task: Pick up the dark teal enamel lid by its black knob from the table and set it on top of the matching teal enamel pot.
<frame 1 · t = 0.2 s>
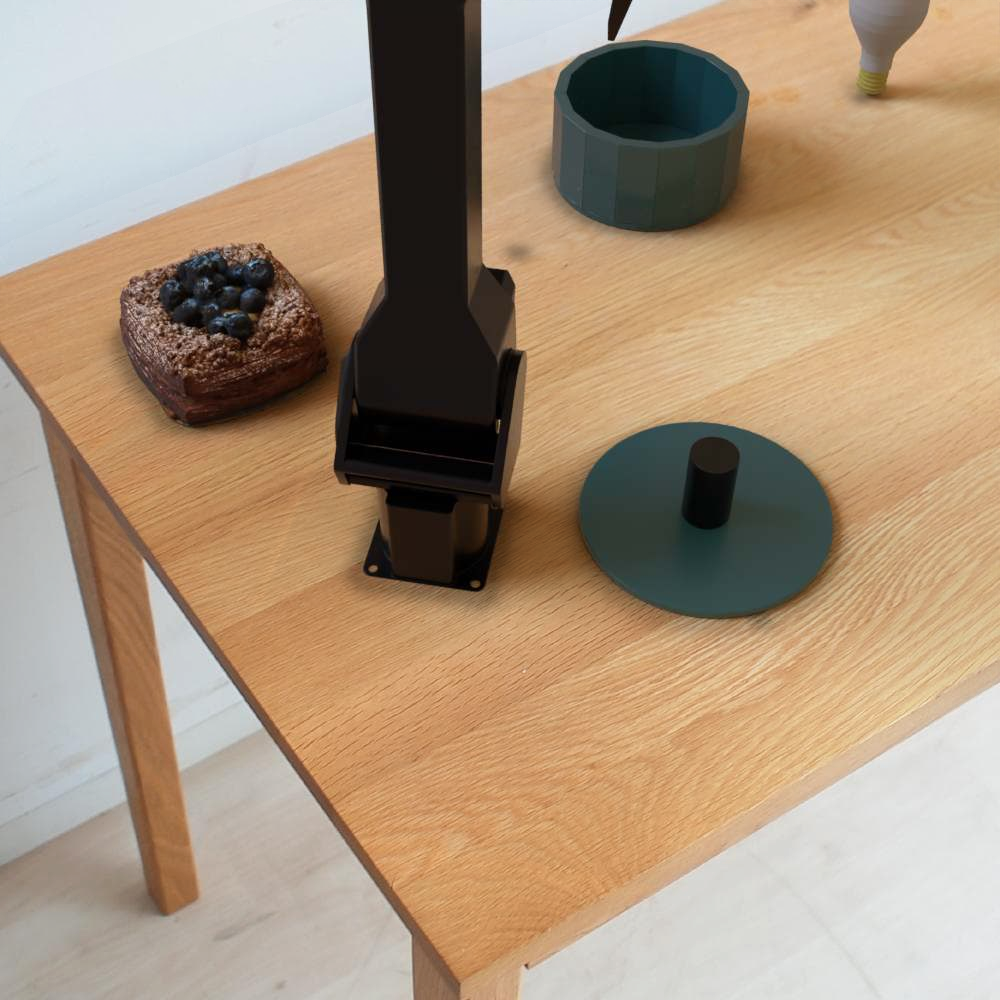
hand: (534, 29, 85), 14 cm above the table, tool pointing down, fingers open, 9 cm apart
pastry: (226, 352, 88), on the table
pot: (644, 174, 99), on the table
light bulb: (868, 95, 106), on the table
lid: (704, 517, 78), point 1 cm above the table
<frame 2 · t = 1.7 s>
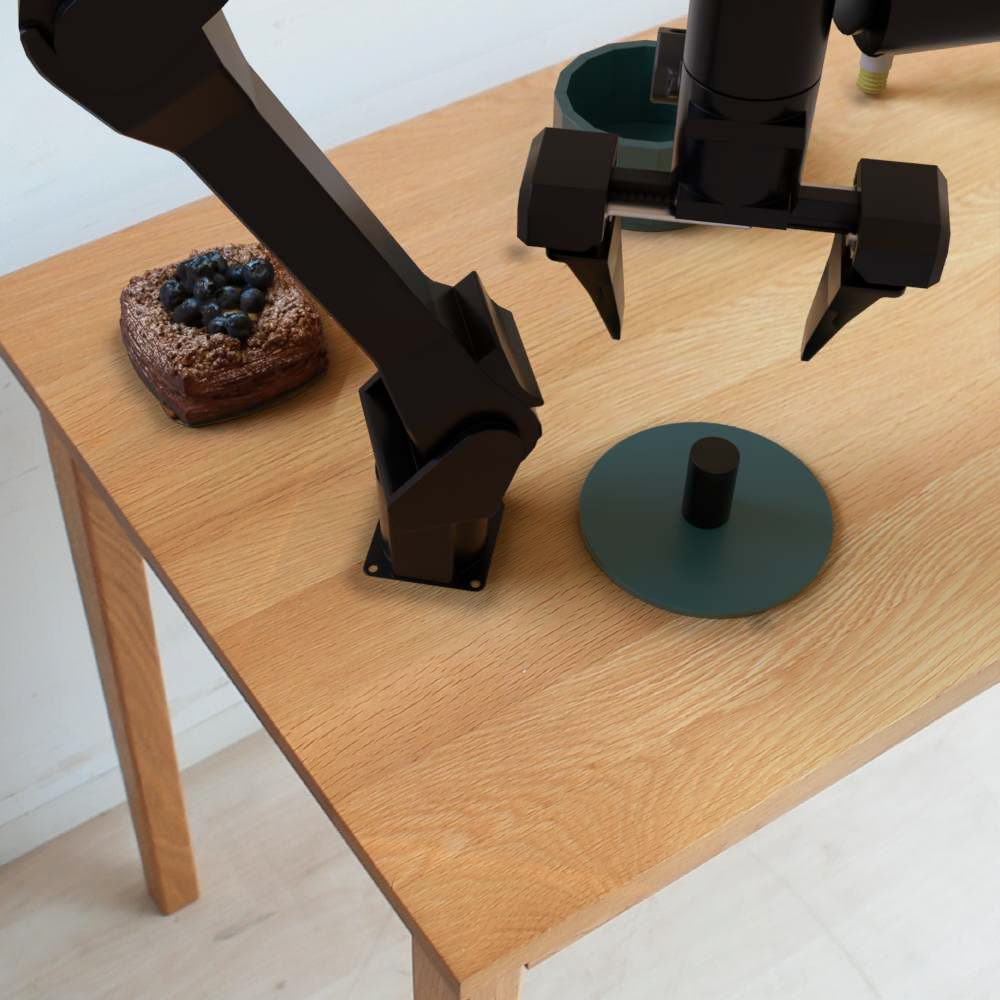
hand: (710, 344, 71), 11 cm above the table, tool pointing down, fingers open, 9 cm apart
nothing on the table moved.
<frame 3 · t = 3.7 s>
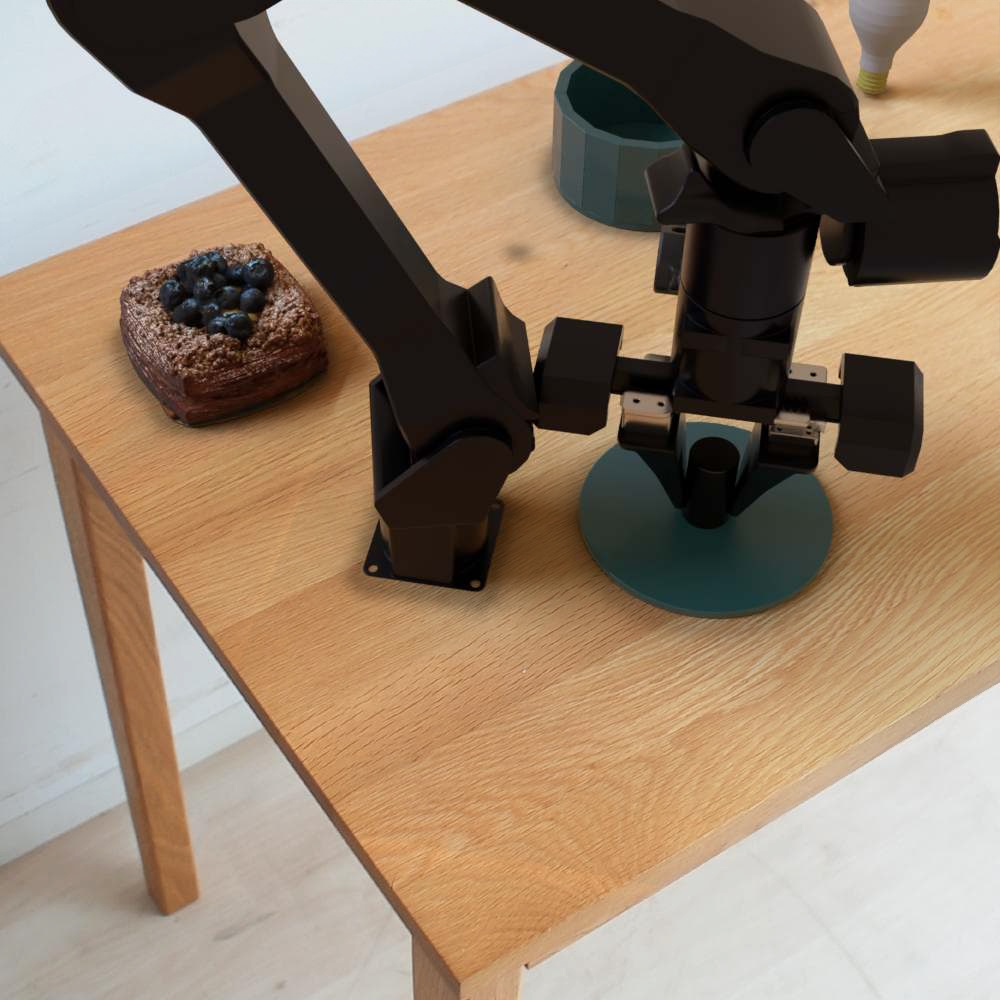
hand: (706, 506, 77), 2 cm above the table, tool pointing down, fingers closed on lid, 2 cm apart
lid: (704, 517, 78), point 1 cm above the table, touching gripper
everything else where it was.
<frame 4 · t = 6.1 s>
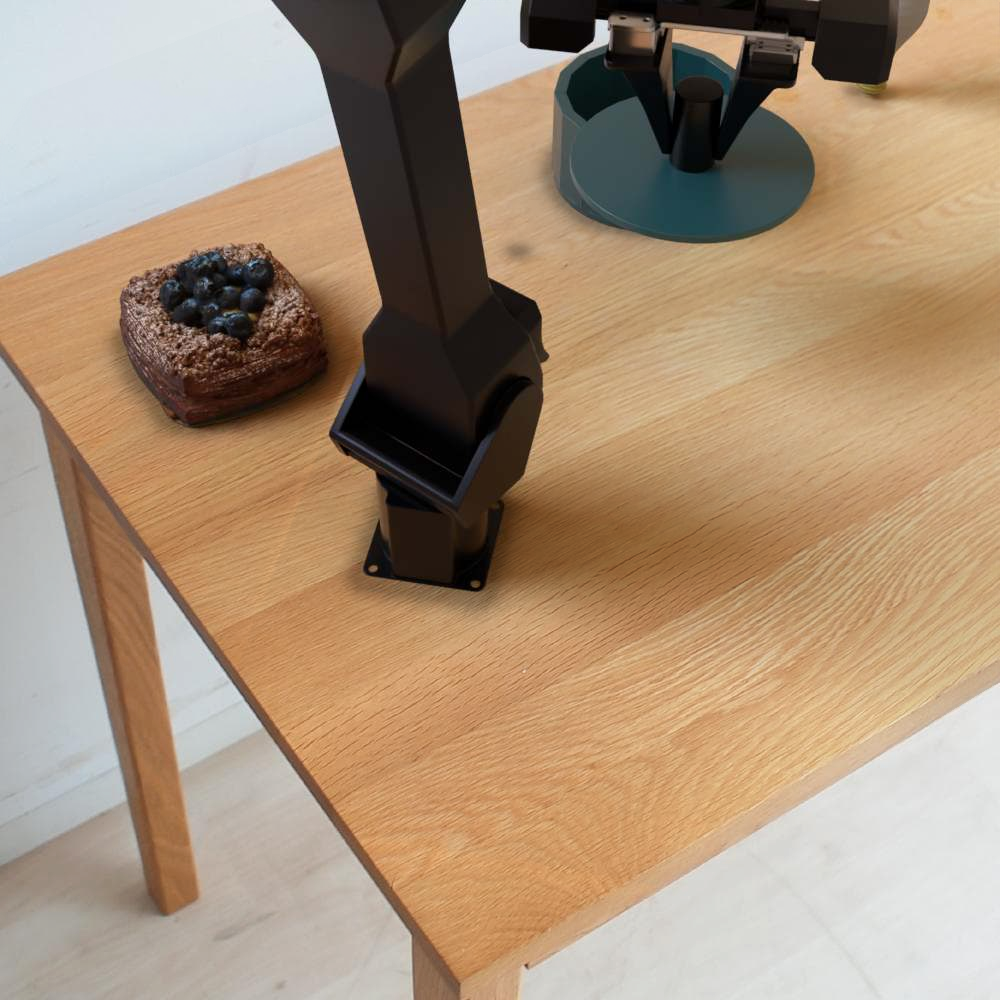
hand: (693, 153, 80), 12 cm above the table, tool pointing down, fingers closed on lid, 2 cm apart
lid: (691, 166, 81), point 11 cm above the table, touching gripper
everything else where it was.
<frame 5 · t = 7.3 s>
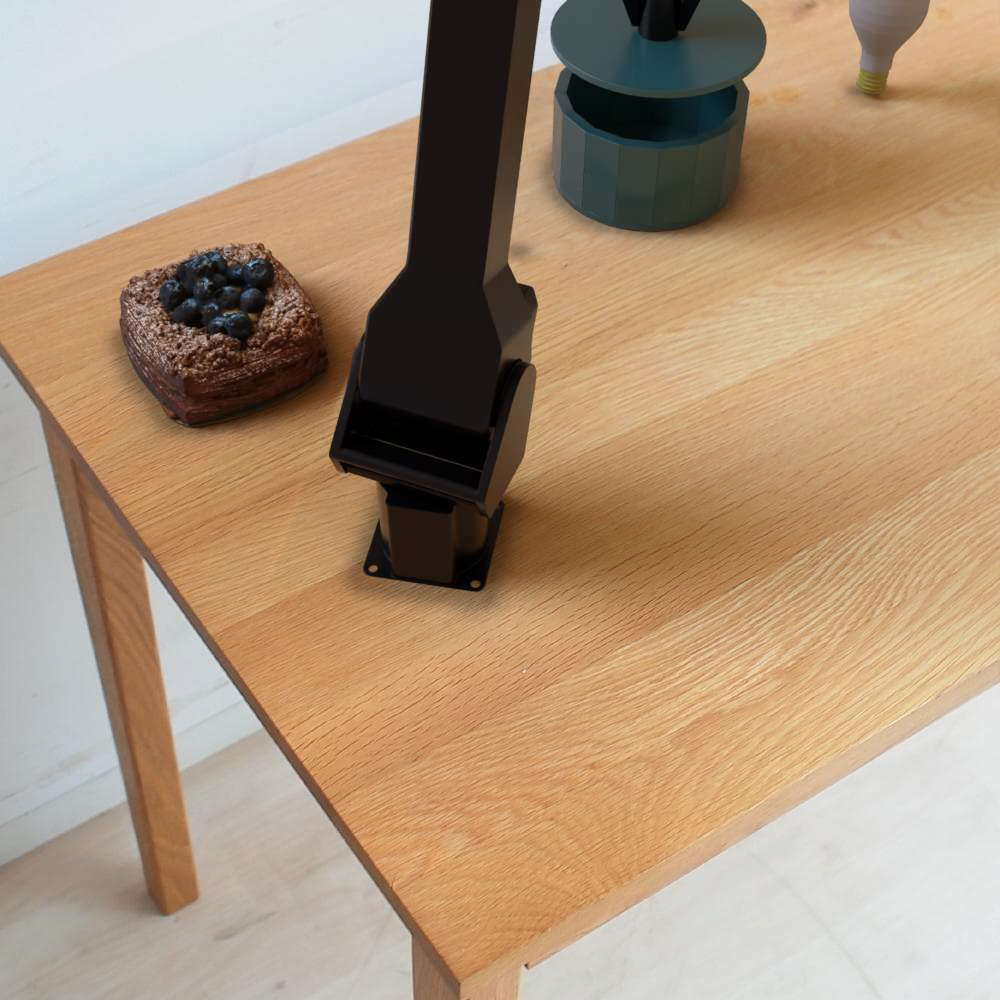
hand: (659, 25, 91), 11 cm above the table, tool pointing down, fingers closed on lid, 2 cm apart
lid: (657, 37, 91), point 11 cm above the table, touching gripper
everything else where it was.
when the fingers open (7 cm above the table, at t = 8.5 s): lid stays where it is, resting on pot.
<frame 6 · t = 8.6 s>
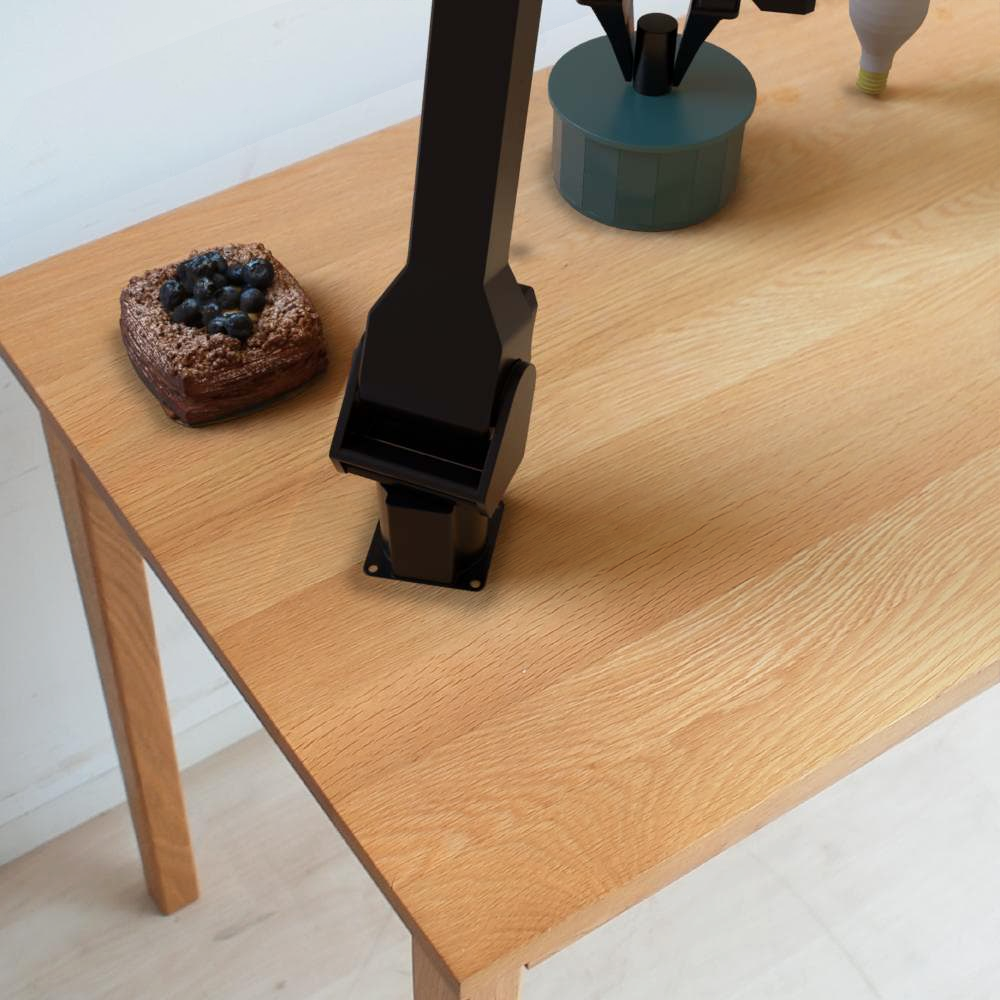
hand: (652, 80, 94), 7 cm above the table, tool pointing down, fingers open, 3 cm apart
lid: (651, 92, 94), point 6 cm above the table, touching pot
everything else where it was.
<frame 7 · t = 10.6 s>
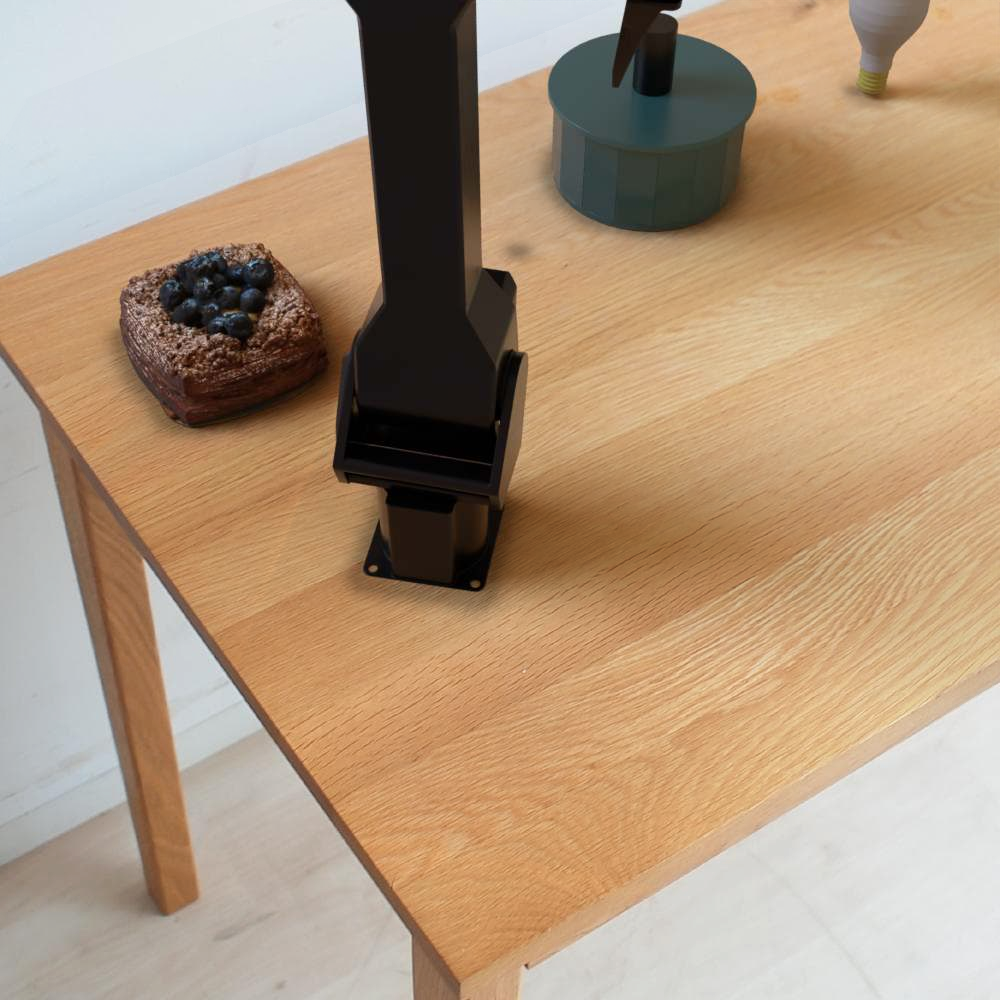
hand: (538, 75, 85), 13 cm above the table, tool pointing down, fingers open, 9 cm apart
nothing on the table moved.
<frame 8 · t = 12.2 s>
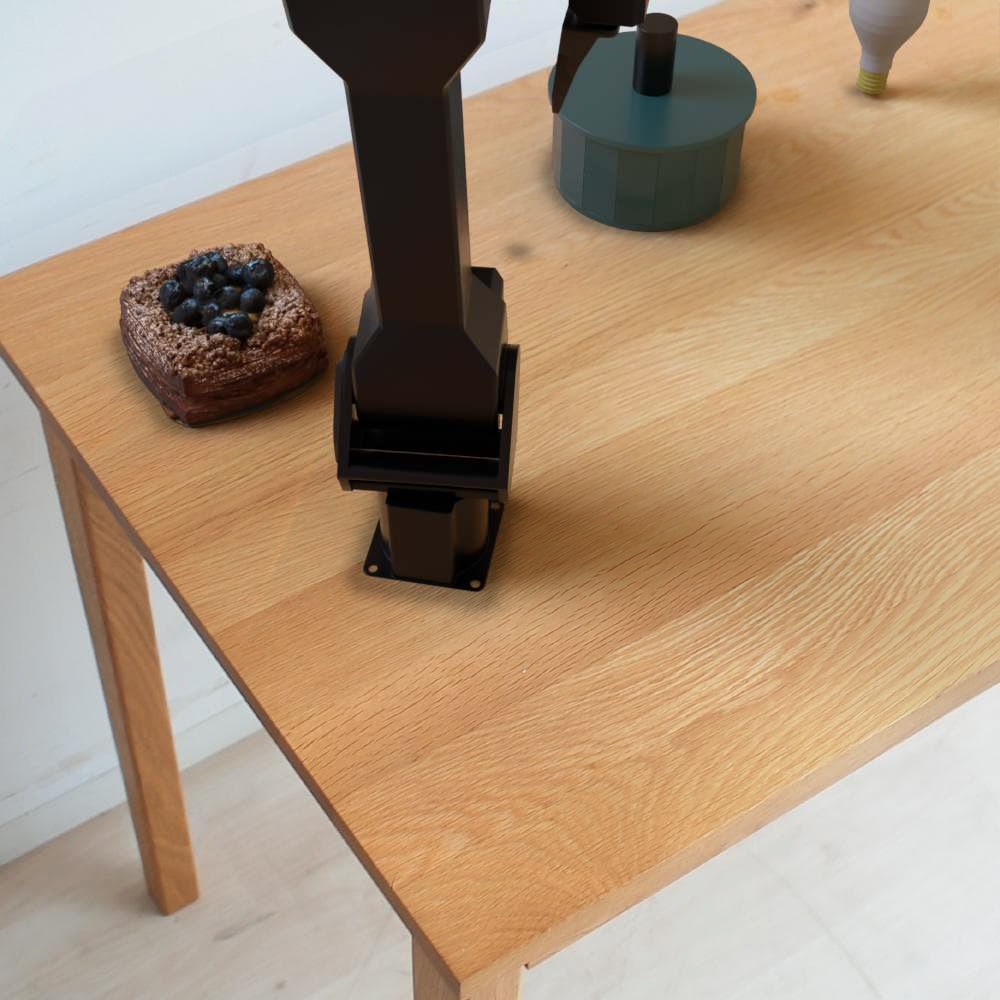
hand: (477, 100, 82), 13 cm above the table, tool pointing down, fingers open, 9 cm apart
nothing on the table moved.
at the end: lid 0.1 cm off-centre on the pot, point 6.5 cm above the pot's base; lid tilted 0°; the gripper is holding nothing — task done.
